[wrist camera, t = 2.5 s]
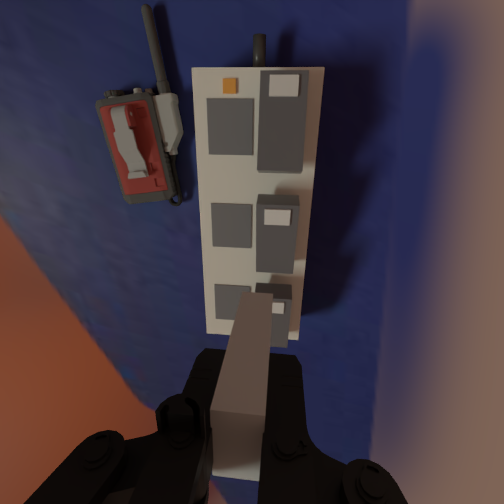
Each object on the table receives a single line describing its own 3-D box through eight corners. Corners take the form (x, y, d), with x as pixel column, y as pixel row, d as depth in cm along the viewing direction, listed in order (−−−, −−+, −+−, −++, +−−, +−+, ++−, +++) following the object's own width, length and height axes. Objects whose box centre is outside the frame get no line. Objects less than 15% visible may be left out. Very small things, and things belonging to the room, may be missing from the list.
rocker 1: (262, 82, 26) (260, 69, 23) (306, 82, 25) (309, 69, 23) (258, 172, 27) (256, 169, 25) (300, 173, 27) (302, 171, 24)
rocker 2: (258, 193, 28) (256, 205, 26) (298, 195, 28) (299, 206, 25) (257, 258, 32) (255, 272, 30) (292, 260, 32) (293, 275, 30)
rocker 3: (256, 282, 32) (254, 298, 30) (291, 284, 31) (292, 300, 29) (255, 329, 36) (254, 346, 34) (287, 331, 36) (287, 349, 34)
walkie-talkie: (200, 201, 36) (161, 7, 29) (190, 209, 32) (141, -14, 25) (136, 208, 37) (83, 24, 30) (118, 217, 33) (52, 7, 26)
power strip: (203, 44, 29) (188, 26, 24) (320, 43, 28) (329, 23, 23) (215, 311, 42) (206, 334, 37) (296, 317, 41) (298, 341, 36)
